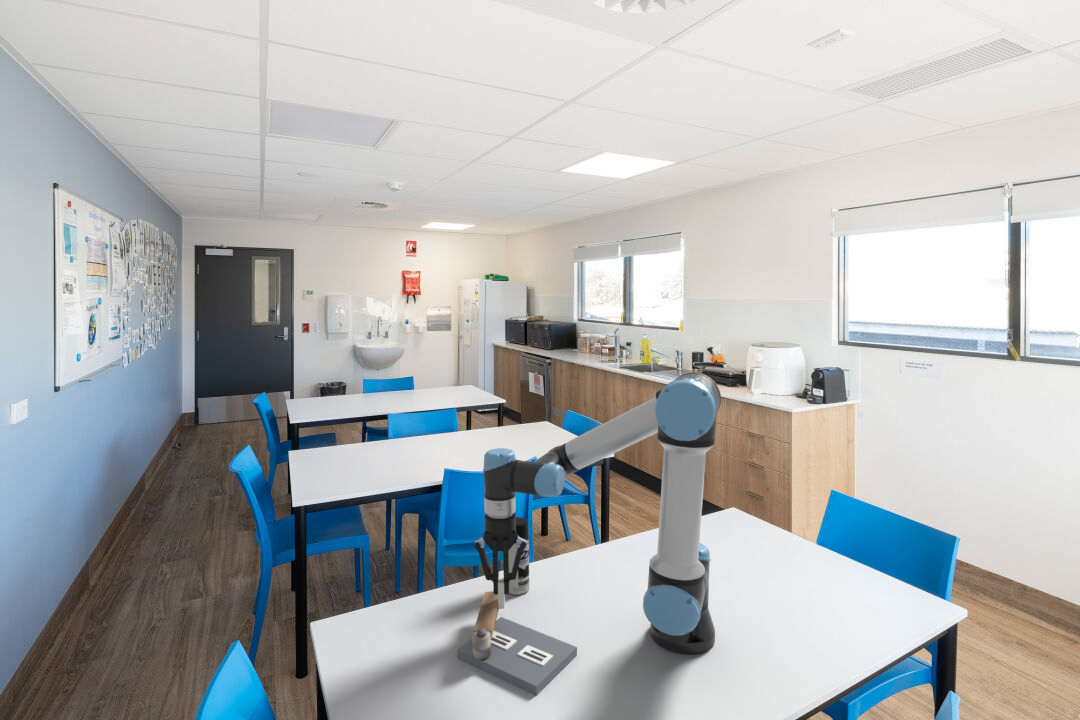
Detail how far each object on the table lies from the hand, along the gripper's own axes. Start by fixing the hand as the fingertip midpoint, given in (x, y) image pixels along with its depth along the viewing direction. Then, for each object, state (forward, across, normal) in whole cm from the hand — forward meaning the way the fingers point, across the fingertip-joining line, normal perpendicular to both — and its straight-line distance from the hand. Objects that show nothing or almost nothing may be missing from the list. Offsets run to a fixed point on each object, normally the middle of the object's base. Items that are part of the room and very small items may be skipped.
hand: (501, 605), depth 141 cm
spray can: (+6, +3, +19) cm, 20 cm away
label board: (+6, +4, -11) cm, 13 cm away
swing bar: (+3, -3, -5) cm, 7 cm away
